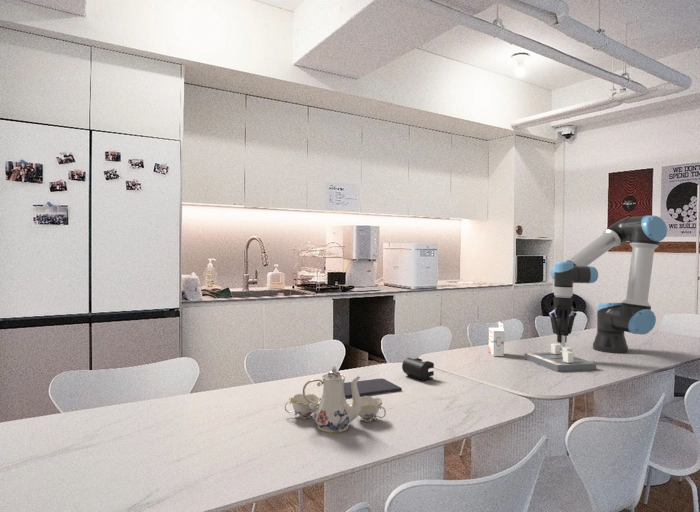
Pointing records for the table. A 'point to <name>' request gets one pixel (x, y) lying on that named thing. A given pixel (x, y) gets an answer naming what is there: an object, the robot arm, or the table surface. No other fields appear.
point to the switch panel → (559, 362)
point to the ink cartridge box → (496, 340)
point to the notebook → (371, 387)
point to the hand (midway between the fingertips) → (561, 350)
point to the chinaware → (335, 404)
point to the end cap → (418, 368)
